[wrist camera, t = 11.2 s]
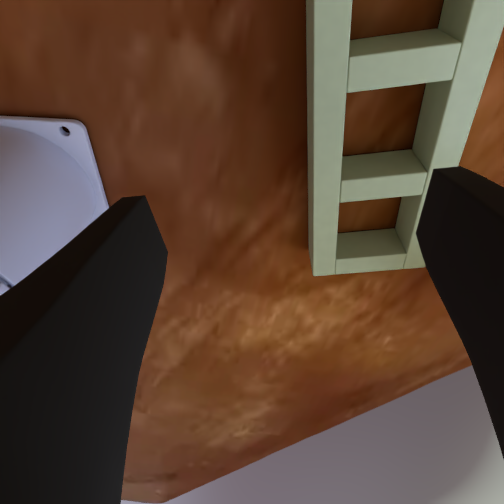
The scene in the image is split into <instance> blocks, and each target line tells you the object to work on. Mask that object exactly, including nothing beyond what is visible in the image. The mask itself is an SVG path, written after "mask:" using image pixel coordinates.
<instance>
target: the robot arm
mask: <svg viewBox="0 0 504 504" xmlns="http://www.w3.org/2000/svg"><path fill="white" fill-rule="evenodd" d="M62 126H64V127H66V128H68V129H69V131H70V133H67V132H65V131H64V130H63V128H62ZM416 236H417V240H418V243H419V247H420V250H421V253H422V256H423V259H424V262H425V265H426V268H427V270H428V272H429V274H430V277H431V279H432V281H433V283H434V285H435V287H436V289H437V291H438V293H439V295H440V297H441V299H442V301H443V303H444V305H445V307H446V309H447V311H448V313H449V315H450V317H451V320H452V322H453V324H454V326H455V328H456V330H457V332H458V334H459V336H460V338H461V340H462V342H463V344H464V346H465V349H466V351H467V353H468V355H469V358H470V360H471V363H472V365H473V368H474V371H475V374H476V377H477V379H478V382H479V385H480V387H481V390H482V393H483V396H484V399H485V402H486V404H487V408H488V411H489V414H490V417H491V420H492V423H493V426H494V429H495V432H496V435H497V438H498V441H499V445H500V448H501V451H502V455H503V458H504V187H502V186H500V185H498V184H496V183H494V182H492V181H490V180H488V179H487V178H485V177H483V176H481V175H479V174H477V173H475V172H472V171H470V170H468V169H466V168H463V167H461V166H458V167H447V168H436V169H433V172H432V176H431V179H430V183H429V186H428V190H427V194H426V197H425V201H424V205H423V208H422V212H421V216H420V219H419V223H418V226H417V230H416ZM167 255H168V251H167V249H166V246H165V244H164V241H163V239H162V236H161V234H160V231H159V229H158V226H157V224H156V221H155V219H154V216H153V214H152V212H151V209H150V207H149V204H148V202H147V199H146V197H145V196H134V197H123V198H121V199H120V200H119V201H117V202H116V203H115V204H113V205H112V206H111V207H110V208H109V206H108V202H107V199H106V195H105V192H104V188H103V185H102V181H101V178H100V174H99V171H98V167H97V164H96V160H95V157H94V154H93V150H92V147H91V143H90V140H89V136H88V133H87V129H86V127H85V126H84V124H83V123H82V122H80V121H78V120H74V119H55V118H36V117H17V116H0V504H120V502H121V492H122V484H123V475H124V467H125V459H126V450H127V443H128V437H129V430H130V423H131V416H132V410H133V404H134V398H135V393H136V387H137V381H138V375H139V371H140V367H141V363H142V358H143V355H144V351H145V348H146V344H147V341H148V337H149V334H150V330H151V327H152V323H153V320H154V317H155V313H156V310H157V306H158V303H159V299H160V295H161V292H162V288H163V284H164V278H165V271H166V263H167Z"/></svg>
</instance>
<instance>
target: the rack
mask: <svg viewBox="0 0 504 504" xmlns="http://www.w3.org/2000/svg"><path fill="white" fill-rule="evenodd" d="M351 14H352V0H306V46H307V139H308V232H309V255H310V261H311V267H312V273H313V276H322V275H334V274H346V273H359V272H371V271H384V270H396V269H402V268H403V269H409V268H421V267H425V266H426V265H425V262H424V259H423V256H422V253H421V250H420V247H419V243H418V240H417V236H416V230H417V226H418V223H419V219H420V216H421V212H422V208H423V205H424V201H425V197H426V194H427V190H428V186H429V183H430V179H431V176H432V172H433V169H436V168H447V167H458V165H459V161H460V158H461V155H462V152H463V149H464V146H465V143H466V140H467V137H468V134H469V131H470V128H471V125H472V122H473V119H474V115H475V112H476V109H477V106H478V103H479V100H480V97H481V94H482V91H483V88H484V85H485V82H486V79H487V76H488V73H489V69H490V66H491V63H492V60H493V57H494V54H495V51H496V48H497V45H498V42H499V39H500V36H501V33H502V30H503V26H504V0H444V3H443V8H442V12H441V17H440V21H439V26H438V29H429V30H421V31H414V32H407V33H399V34H392V35H385V36H377V37H370V38H363V39H355V40H350V29H351ZM423 83H426V87H425V91H424V96H423V101H422V105H421V110H420V115H419V119H418V124H417V129H416V133H415V138H414V143H413V147H412V150H411V149H408V150H399V151H390V152H381V153H372V154H362V155H353V156H344V157H342V152H343V137H344V122H345V106H346V92H347V93H350V92H358V91H366V90H374V89H382V88H390V87H398V86H406V85H415V84H423ZM393 197H402V198H401V203H400V208H399V212H398V217H397V222H396V226H395V229H394V228H392V229H381V230H370V231H358V232H347V233H337V229H338V214H339V202H341V203H342V202H352V201H362V200H372V199H383V198H393Z"/></svg>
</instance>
